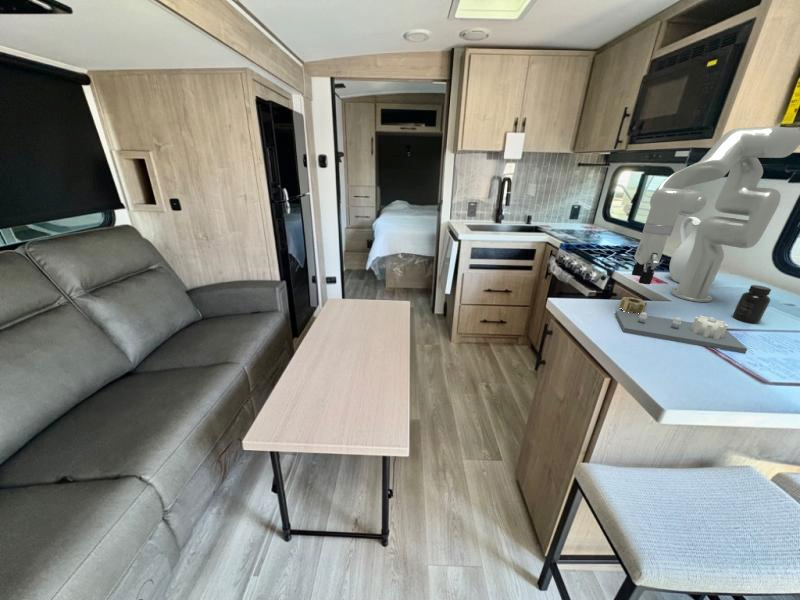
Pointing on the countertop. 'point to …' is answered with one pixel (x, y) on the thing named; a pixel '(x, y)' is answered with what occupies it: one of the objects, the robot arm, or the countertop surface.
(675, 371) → the countertop surface
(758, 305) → the supplement bottle
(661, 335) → the gear board
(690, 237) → the pitcher
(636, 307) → the brass gear
